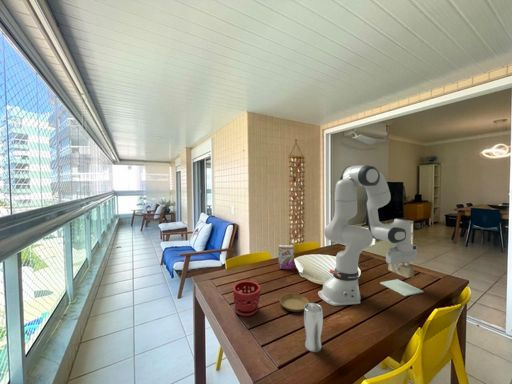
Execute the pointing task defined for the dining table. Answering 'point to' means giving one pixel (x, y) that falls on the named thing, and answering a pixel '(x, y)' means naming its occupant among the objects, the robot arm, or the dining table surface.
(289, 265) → the candy bar box
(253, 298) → the plant pot
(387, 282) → the sage mat
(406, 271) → the maple block
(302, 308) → the plant saucer
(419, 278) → the dining table surface
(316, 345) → the beer glass
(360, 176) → the robot arm
